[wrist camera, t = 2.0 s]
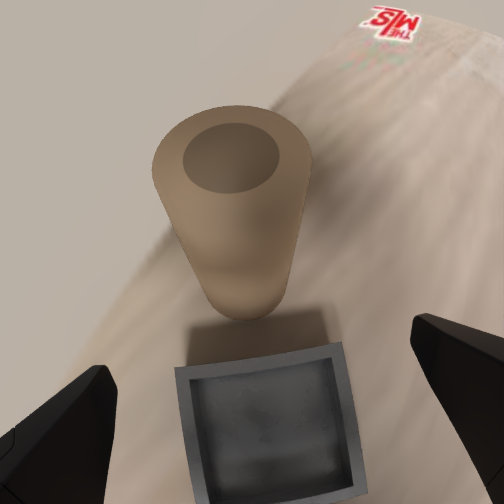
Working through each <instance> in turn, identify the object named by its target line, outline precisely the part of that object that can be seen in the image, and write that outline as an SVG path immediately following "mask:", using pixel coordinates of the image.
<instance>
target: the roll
mask: <svg viewBox="0 0 504 504" xmlns="http://www.w3.org/2000/svg"><path fill="white" fill-rule="evenodd" d="M311 169H312V155H311V150H310V147H309V144H308V142H307V140H306V138H305V137H304V135H303V134H302V132H301V131H300V130H299V129H298V128H297V127H296V126H295V125H294V124H293V123H291V122H290V121H289V120H287V119H286V118H284V117H282V116H280V115H278V114H276V113H274V112H271V111H268V110H266V109H262V108H257V107H251V106H223V107H217V108H212V109H209V110H205V111H202V112H200V113H197V114H195V115H193V116H191V117H189V118H187V119H185V120H184V121H182V122H181V123H179V124H178V125H177V126H175V127H174V128H173V129H172V130H171V131H170V132H169V133H168V134H167V135H166V136H165V137H164V139H163V140H162V141H161V143H160V145H159V146H158V148H157V150H156V153H155V155H154V159H153V164H152V176H153V181H154V185H155V187H156V190H157V192H158V194H159V196H160V199H161V201H162V203H163V205H164V207H165V210H166V212H167V214H168V216H169V219H170V221H171V223H172V225H173V227H174V230H175V232H176V234H177V236H178V238H179V240H180V243H181V245H182V247H183V249H184V251H185V253H186V255H187V257H188V260H189V262H190V264H191V266H192V268H193V270H194V272H195V274H196V276H197V278H198V280H199V282H200V284H201V286H202V288H203V290H204V292H205V294H206V296H207V298H208V300H209V302H210V303H211V305H212V306H213V307H214V308H215V309H216V310H217V311H218V312H219V313H221V314H223V315H224V316H226V317H229V318H231V319H235V320H241V321H248V320H254V319H258V318H261V317H263V316H265V315H267V314H269V313H270V312H271V311H273V310H274V309H275V308H276V307H277V306H278V304H279V303H280V302H281V300H282V298H283V296H284V294H285V290H286V286H287V282H288V277H289V273H290V268H291V264H292V260H293V255H294V251H295V246H296V241H297V237H298V232H299V227H300V223H301V218H302V213H303V208H304V204H305V199H306V194H307V189H308V184H309V179H310V174H311Z"/></svg>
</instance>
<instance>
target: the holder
mask: <svg viewBox="0 0 504 504" xmlns="http://www.w3.org/2000/svg"><path fill="white" fill-rule="evenodd" d="M174 369H175V378H176V386H177V394H178V402H179V409H180V416H181V423H182V430H183V436H184V443H185V449H186V455H187V460H188V466H189V471H190V477H191V482H192V487H193V492H194V497H195V502H196V504H331V503H335V502H338V501H342V500H346V499H349V498H353V497H356V496H360V495H363V494H366V493H368V491H367V483H366V476H365V469H364V462H363V455H362V448H361V442H360V436H359V430H358V424H357V418H356V413H355V407H354V402H353V396H352V391H351V386H350V381H349V376H348V371H347V366H346V361H345V356H344V351H343V347H342V342H337V343H332V344H327V345H323V346H318V347H313V348H308V349H302V350H297V351H292V352H286V353H280V354H274V355H268V356H262V357H256V358H249V359H242V360H235V361H228V362H220V363H212V364H204V365H195V366H185V367H174Z"/></svg>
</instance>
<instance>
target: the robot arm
mask: <svg viewBox="0 0 504 504" xmlns="http://www.w3.org/2000/svg"><path fill="white" fill-rule="evenodd" d="M410 343H411V347H412V349H413V351H414V353H415V355H416V357H417V359H418V361H419V363H420V366H421V368H422V370H423V372H424V374H425V376H426V378H427V381H428V383H429V384H430V386H431V388H432V390H433V391H434V393H435V395H436V397H437V398H438V400H439V402H440V403H441V405H442V407H443V409H444V410H445V412H446V414H447V416H448V417H449V419H450V421H451V423H452V424H453V426H454V428H455V430H456V432H457V433H458V435H459V437H460V439H461V441H462V443H463V444H464V446H465V448H466V450H467V452H468V454H469V456H470V458H471V460H472V462H473V464H474V466H475V468H476V469H477V471H478V473H479V475H480V477H481V480H482V482H483V484H484V486H485V487H486V490H487V492H488V494H489V497H490V499H491V501H492V503H493V504H504V338H502V337H499V336H496V335H493V334H490V333H487V332H483V331H480V330H477V329H474V328H471V327H468V326H465V325H462V324H459V323H456V322H453V321H450V320H447V319H444V318H441V317H437V316H434V315H431V314H428V313H424V314H420V315H416V316H415V317H414V319H413V323H412V330H411V336H410ZM117 395H118V390H117V386H116V384H115V382H114V379H113V377H112V375H111V373H110V371H109V369H108V367H107V366H106V365H93V366H92V367H90V368H89V369H88V370H86V371H85V372H84V373H83V374H81V375H80V376H79V377H77V378H76V379H75V380H74V381H72V382H71V383H70V384H68V385H67V386H66V387H65V388H63V389H62V390H61V391H59V392H58V393H57V394H56V395H54V396H53V397H52V398H50V399H49V400H48V401H47V402H45V403H44V404H43V405H41V406H40V407H39V408H38V409H36V410H35V411H34V412H33V413H32V414H30V415H29V416H27V417H26V418H25V419H24V420H22V421H21V422H20V423H19V424H17V425H16V426H15V428H12V429H11V430H10V431H8V432H7V433H6V434H4V435H3V436H2V437H1V438H0V504H104V496H105V489H106V482H107V476H108V469H109V463H110V457H111V451H112V446H113V440H114V432H115V418H116V406H117Z"/></svg>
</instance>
